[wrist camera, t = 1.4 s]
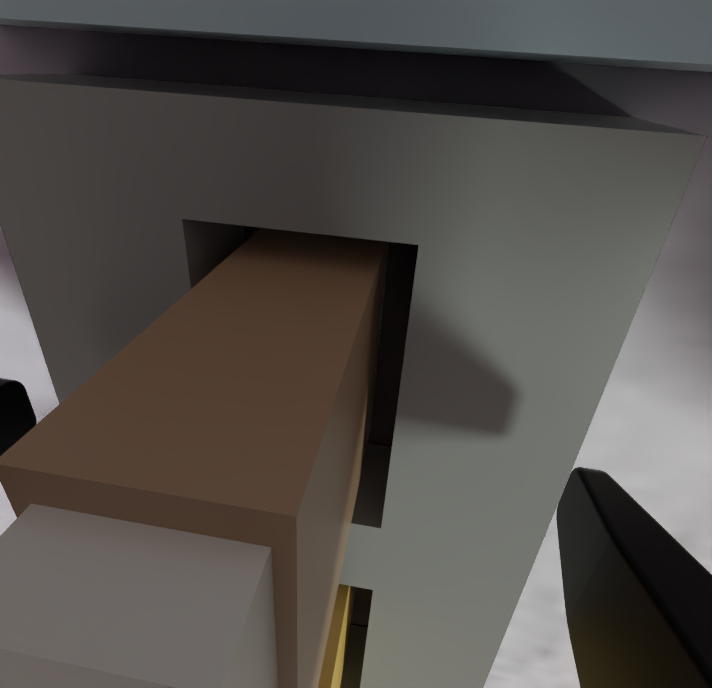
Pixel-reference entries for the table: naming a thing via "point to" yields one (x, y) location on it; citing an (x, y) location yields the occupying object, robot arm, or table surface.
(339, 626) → the block
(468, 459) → the block
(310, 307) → the block
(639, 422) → the table surface
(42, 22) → the parts tray
